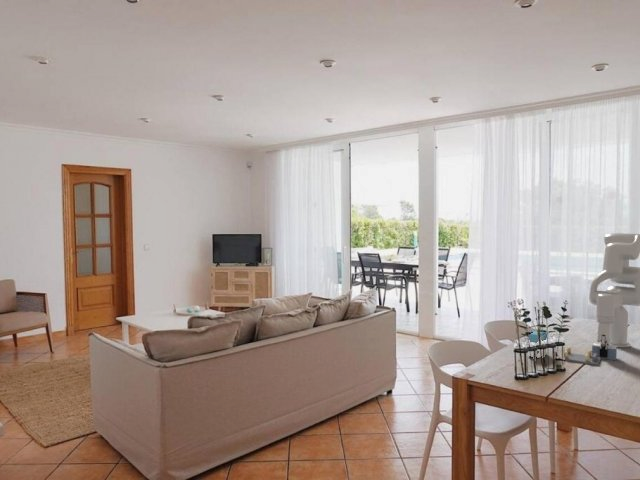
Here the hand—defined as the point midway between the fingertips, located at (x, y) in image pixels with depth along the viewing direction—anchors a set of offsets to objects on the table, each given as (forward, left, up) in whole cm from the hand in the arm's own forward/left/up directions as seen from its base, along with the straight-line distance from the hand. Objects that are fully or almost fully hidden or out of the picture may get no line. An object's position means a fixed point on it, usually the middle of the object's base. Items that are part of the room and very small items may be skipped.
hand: (604, 354), depth 231 cm
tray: (+11, -10, -1) cm, 15 cm away
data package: (+16, -27, -1) cm, 31 cm away
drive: (0, 0, -1) cm, 1 cm away
